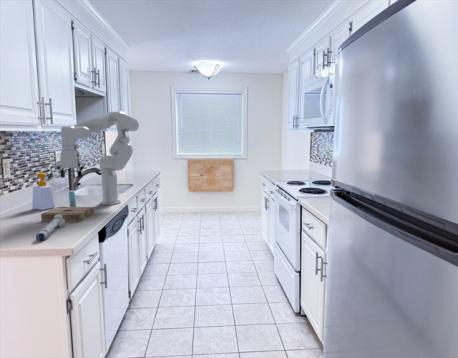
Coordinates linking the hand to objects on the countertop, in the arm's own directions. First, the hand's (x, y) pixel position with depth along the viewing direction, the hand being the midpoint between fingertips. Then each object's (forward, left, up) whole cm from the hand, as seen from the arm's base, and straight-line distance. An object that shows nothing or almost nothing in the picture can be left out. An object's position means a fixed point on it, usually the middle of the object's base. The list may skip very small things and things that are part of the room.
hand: (71, 177), depth 186 cm
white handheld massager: (+41, +11, -21) cm, 47 cm away
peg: (0, 0, -20) cm, 20 cm away
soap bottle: (-4, -22, -21) cm, 30 cm away
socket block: (+14, +5, -20) cm, 25 cm away
